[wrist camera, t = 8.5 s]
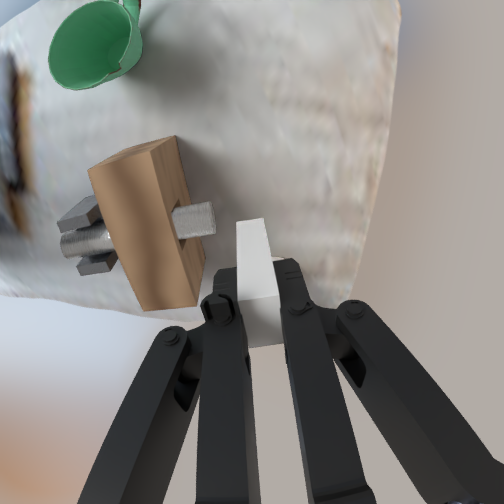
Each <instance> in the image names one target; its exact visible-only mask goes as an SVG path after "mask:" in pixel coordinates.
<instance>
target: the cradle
mask: <svg viewBox="0 0 504 504" xmlns="http://www.w3.org/2000/svg"><path fill="white" fill-rule="evenodd" d="M101 223H105V222H104V219H103V217H102V214H101V211H100V208H99V205H98V202H97V199H96V196H95V195H93V196H89V197H86V198H85V199H83V200H82V201H81V202H80V203H79V204H77V205H76V206H75V207H74V208H73V209H71V210H70V211H69V212H68V213H67V214H65V215H64V216H63V217H62V218H61V219H60V220H59V221H58V222H57V224H58V227H59V229H60V232H61V233H63V232H66V231H70V230H74V229H81V228H85V227H89V226H93V225H97V224H101ZM118 258H119V257H118V255H117V253H116V251H112V252H106V253H101V254H95V255H90V256H85V257H83V258H82V260H81V261H80V262H79V264H78V265H77V266H76V267H77V269H78V271H79V273H80V275H81V276H84V275H90V274H97V273H104V272H110V271H111V269H112V268H113V266H114V265H115V263H116V261H117V260H118Z"/></svg>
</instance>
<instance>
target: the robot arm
mask: <svg viewBox="0 0 504 504" xmlns="http://www.w3.org/2000/svg"><path fill="white" fill-rule="evenodd" d="M236 232H237V267H234V268H227V269H220V270H218V271H217V273H216V274H215V276H214V281H213V292H212V294H210V295H208V296H206V297H205V298H204V299H203V300H202V302H201V304H200V307H201V310H202V313H203V315H204V318H205V321H206V322H205V323H204V324H202V325H201V326H199V327H197V328H195V329H192V330H189V331H186V330H185V329H183V328H182V327H179V326H170V327H167V328H165V329H163V330H162V331H160V332H159V333H158V335H157V336H156V338H155V339H154V341H153V343H152V345H151V347H150V349H149V351H148V353H147V355H146V356H145V358H144V360H143V362H142V364H141V366H140V368H139V370H138V372H137V374H136V376H135V378H134V380H133V382H132V384H131V386H130V388H129V390H128V392H127V394H126V396H125V398H124V400H123V402H122V404H121V406H120V408H119V410H118V412H117V414H116V416H115V419H114V421H113V423H112V425H111V427H110V429H109V431H108V434H107V436H106V438H105V440H104V442H103V444H102V446H101V449H100V451H99V453H98V455H97V458H96V460H95V462H94V464H93V467H92V469H91V471H90V474H89V476H88V478H87V481H86V483H85V485H84V488H83V490H82V493H81V495H80V498H79V500H78V503H77V504H163V500H164V497H165V495H166V491H167V489H168V485H169V483H170V480H171V477H172V474H173V471H174V468H175V465H176V462H177V460H178V457H179V454H180V451H181V448H182V445H183V442H184V439H185V435H186V433H187V430H188V427H189V424H190V422H191V419H192V416H193V413H194V410H195V407H196V404H197V401H198V398H199V395H200V402H199V420H198V442H197V444H198V445H197V472H196V502H195V504H261V496H260V484H259V473H258V459H257V446H256V434H255V419H254V407H253V406H254V405H253V391H252V378H251V363H250V356H249V352H248V346H249V348H254V347H261V346H268V345H275V344H282V343H284V347H285V358H286V364H287V368H288V373H289V380H290V386H291V391H292V397H293V404H294V410H295V416H296V423H297V429H298V435H299V442H300V448H301V455H302V461H303V468H304V474H305V481H306V489H307V496H308V503H309V504H377V503H376V500H375V496H374V493H373V491H372V489H371V488H370V487H369V486H368V485H367V482H366V480H365V476H364V472H363V468H362V464H361V460H360V456H359V452H358V448H357V444H356V440H355V436H354V432H353V428H352V425H351V421H350V417H349V414H348V410H347V407H346V403H345V399H344V396H343V392H342V389H341V386H340V382H339V379H338V375H337V372H336V368H335V365H334V362H333V359H334V361H335V363H336V364H337V366H338V367H339V369H340V370H341V372H342V373H343V375H344V376H345V378H346V379H347V381H348V383H349V384H350V386H351V387H352V389H353V390H354V392H355V393H356V395H357V396H358V398H359V400H360V401H361V403H362V404H363V406H364V407H365V409H366V410H367V412H368V413H369V415H370V416H371V418H372V420H373V421H374V423H375V424H376V426H377V427H378V429H379V431H380V432H381V434H382V435H383V437H384V438H385V440H386V442H387V443H388V445H389V446H390V448H391V449H392V451H393V452H394V454H395V455H396V457H397V459H398V460H399V462H400V464H401V465H402V467H403V468H404V470H405V471H406V473H407V475H408V476H409V478H410V479H411V481H412V482H413V484H414V486H415V487H416V489H417V491H418V492H419V494H420V495H421V496H422V498H423V499H424V500H425V502H426V503H427V504H504V464H502V463H500V462H499V461H497V460H495V459H494V458H493V457H492V455H491V454H490V452H489V451H488V450H487V448H486V447H485V445H484V444H483V443H482V442H481V440H480V439H479V437H478V436H477V434H476V433H475V432H474V430H473V429H472V428H471V426H470V425H469V424H468V422H467V421H466V420H465V419H464V417H463V416H462V415H461V413H460V412H459V411H458V409H457V408H456V407H455V406H454V405H453V403H452V402H451V401H450V399H449V398H448V397H447V396H446V394H445V393H444V392H443V391H442V389H441V388H440V387H439V386H438V385H437V383H436V382H435V381H434V380H433V378H432V377H431V376H430V375H429V374H428V372H427V371H426V370H425V369H424V368H423V366H422V365H421V364H420V363H419V362H418V361H417V359H416V358H415V357H414V356H413V355H412V354H411V352H410V351H409V350H408V349H407V348H406V347H405V345H404V344H403V343H402V342H401V341H400V340H399V339H398V337H397V336H396V335H395V334H394V333H393V332H392V331H391V330H390V328H389V327H388V326H387V325H386V324H385V323H384V322H383V321H382V320H381V318H380V317H379V316H378V315H377V314H376V313H375V312H374V311H373V310H372V309H371V307H370V306H369V305H367V304H366V303H365V302H363V301H359V300H348V301H345V302H343V303H341V304H340V305H339V307H338V308H337V309H329V308H323V307H320V306H317V305H316V304H314V302H313V301H312V300H311V299H310V297H309V293H308V290H307V287H306V284H305V281H304V278H303V275H302V272H301V269H300V267H299V264H298V263H297V262H296V261H295V260H294V259H293V258H289V259H283V260H276V261H272V257H271V252H270V247H269V243H268V238H267V233H266V229H265V224H264V219H263V218H259V219H252V220H246V221H239V222H236Z"/></svg>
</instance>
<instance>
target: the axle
mask: <svg viewBox="0 0 504 504" xmlns="http://www.w3.org/2000/svg"><path fill="white" fill-rule="evenodd" d="M171 216H172V219H173V223H174V226H175V230H176V233H177V236H178V240H181V239H187V238H193V237H199V236H206V235H212V234H215V233H216V221H215V214H214V210H213V206H212V203H211V202H210V201H208V202H202V203H197V204H191V205H186V206H181V207H175V208H173V209H172V211H171ZM60 245H61V250H62V253H63V255H64V256H65V257H66V258H67V259H74V258H80V257H85V256H90V255H95V254H101V253H106V252H112V251H116V250H115V248H114V245H113V243H112V240H111V238H110V235H109V233H108V230H107V227H106V225H105V223H101V224H97V225H93V226H89V227H85V228H81V229H77V230H73V231H69V232H66V233H64V234H63V235H62V237H61V242H60Z"/></svg>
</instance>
